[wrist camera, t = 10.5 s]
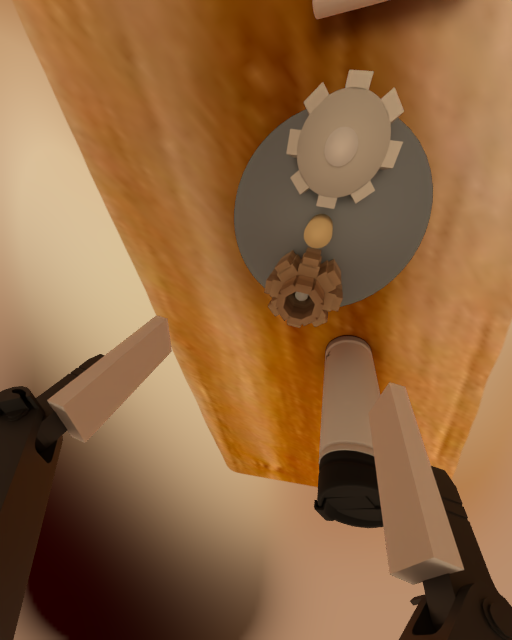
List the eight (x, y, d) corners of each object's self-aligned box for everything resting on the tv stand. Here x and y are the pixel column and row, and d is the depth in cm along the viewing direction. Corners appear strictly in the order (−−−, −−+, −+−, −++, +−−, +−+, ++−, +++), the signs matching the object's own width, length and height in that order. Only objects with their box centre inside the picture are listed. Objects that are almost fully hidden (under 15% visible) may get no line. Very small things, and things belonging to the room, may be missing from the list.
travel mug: (315, 345, 34) (297, 494, 18) (358, 328, 31) (383, 494, 15) (336, 373, 36) (336, 533, 20) (379, 360, 32) (422, 542, 16)
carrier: (247, 86, 21) (221, 58, 16) (484, 105, 18) (541, 77, 13) (233, 284, 33) (215, 302, 28) (375, 319, 29) (383, 347, 24)
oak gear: (279, 241, 26) (265, 256, 21) (352, 256, 25) (356, 277, 20) (268, 302, 31) (254, 328, 26) (329, 318, 30) (327, 348, 24)
